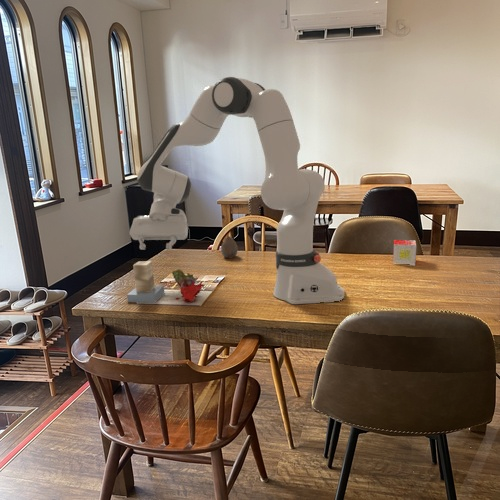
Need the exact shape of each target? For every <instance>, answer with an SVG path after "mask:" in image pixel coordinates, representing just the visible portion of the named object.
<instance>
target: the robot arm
mask: <svg viewBox="0 0 500 500" xmlns="http://www.w3.org/2000/svg"><path fill="white" fill-rule="evenodd" d="M231 115H232V116H235V117H239V118H253V121H254V124H255V126H256V129H257V133H258V136H259V140H260V144H261V147H262V152H263V155H264V162H265V163H264V164H265V175H264V176H265V177H264V180H263V181H262V185H261V187H260V196H261V200H262V201H263V203H264V204H265V206H267V207H268V208H269V209H272V210H277V211H278V210H279V211H283V214H282V216H281V219H280V221H279V222H278V223H277V227H276V251H275V266H276V267H275V268H276V277H275V284H274V289H273V293H272V294H273V297H275V298H277V299H278V300H281V301H282V300H283V301H286V302H287V303H289V304H291V305H302V304H303V305H304V304H317V303H319V304H321V303H320V302H324V303H335V302H334V301H339V302H341V301H343V300H344V299H345V297H344V296H345V290H344V287H342V286H341V285H339V284H338V279H337V277H336V274H335V272H333V271H332V270H330V269H329V268H328V267H326V266H325V265H324V264H322V263H321V260H322V257H321V256H320V253H319V251H317V250H314V249H313V246H314V245H313V244H314V243H313V241H314V239H313V238H314V233H313V232H314V223H315V217H316V212H317V209H318V205H319V201H320V199H321V197H322V195H323V194H324V191H325V187H326V186H325V185H326V184H325V180H324V178H323V176H322V175H321V174H320V173H319V172H318V171H316V170H312V169H307V168H302V169H299V165H298V155H299V154H298V153H299V151H300V150H301V143H300V140H299V136H298V132H297V129H296V125H295V123H294V119H293V115H292V112H291V110H290V108H289V105H288V104H287V102H286V100H285V97H284V96H283V94H282V93H281V92H280V91H279V90H277V89H273V88H269V89H267V88H266V89H265V88H264V87H263V85H261V84H260V83H257V82H252V81H250V80H248V79H245V78H242V77H241V78H239V77H235V76H226V77H223V78H221V79H219V80H217V82H216V83H215V84H214V85H208V86H207V87H205V88H204V89H203V90H202V92H201V93H200V95H199V96H198V98H197V99H196V101H195V102H194V104H193V106H192V108H191V110H190V112H189V114H188V116H186V118H185V119H184V120H182V121H180V122H176V123H174V124H172V125H171V127H169V128H168V130H167V131H166V132H165V134H164V136H163V137H162V139H161V140H160V141H159V143H158V145H157V146H156V147H155V149H154V150H153V152H152V153H151V155H150V156H149V157H148V159H147V160H146V161H145V162H144V163H143V165H142V166H141V167H140V169H139V170H138V173H137V178H136V181H137V183H138V185H139V186H140V188H141V189H142V190H144V191H146V192H151V193H153V202H152V203H151V207H150V211H149V215H137V216H136V217H134V218H133V220H132V224H131V226H130V229H129V235H130V237H131V238H132V240H134V241H138V242H139V250H141V251H142V250H143V251H145V250H146V248H147V247H146V246H147V245H146V244H145V243H144V242H145V241H152V240H153V241H154V240H155V241H159V240H160V241H162V240H163V241H164V240H165V241H166V240H167V241H168V240H170V241H169V242H166V244H165V249H166V250H167V251H170V250H172V249H173V246H174V245H175V244H176V242H177V241H178V240H180V241H181V240H183V241H184V240H186V239H187V238H188V233H189V231H188V230H189V228H188V223H187V222H188V219H187V215H186V213H185V211H184V210H183V209H180V208H176V206H177V204H178V205H179V204H182V203H184V202H185V201H186V200H187V199H188V198H189V195H190V192H191V187H192V182H191V179H190V178H189V176H188V175H186V174H184V173H181V172H179V171H176V170H174V169H170V168H168V167H166V166H163V165H162V164H163V162H164V161H165V159H166V158H167V157H168V155H169V154H170V152H171V151H172V150H173V149H175V148H177V147H181V146H188V147H189V146H191V147H192V146H193V147H202V146H203V147H204V146H207V145H209V144H211V143H213V142H214V140H215V139H216V138H217V136H218V135H219V133H220V131H221V129H222V128H223V124H224V122H225V121H226V119H227V117H229V116H231ZM343 298H344V299H343ZM342 299H343V300H342ZM340 300H341V301H340Z"/></svg>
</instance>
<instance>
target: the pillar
mask: <svg viewBox="0 0 500 500" xmlns="http://www.w3.org/2000/svg"><path fill="white" fill-rule="evenodd" d="M132 267H133V275H134V284H135V288H136V292H151V291H152V290H153V289H154V288H155V286H156V285H155V279H154V269H153V261H152V260H148V261H147V260H145V261H142V260H141V261H140V260H139V261H137V262H135V263H134V264H133V265H132Z"/></svg>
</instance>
